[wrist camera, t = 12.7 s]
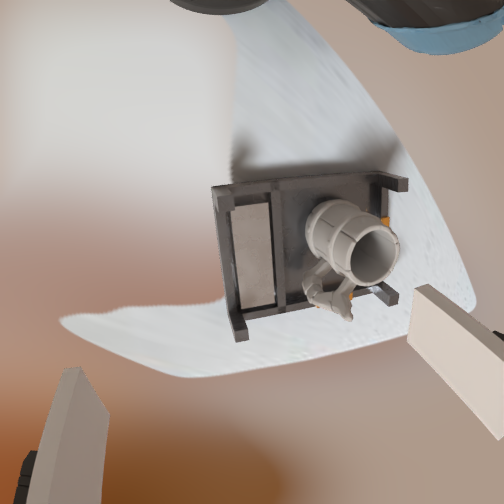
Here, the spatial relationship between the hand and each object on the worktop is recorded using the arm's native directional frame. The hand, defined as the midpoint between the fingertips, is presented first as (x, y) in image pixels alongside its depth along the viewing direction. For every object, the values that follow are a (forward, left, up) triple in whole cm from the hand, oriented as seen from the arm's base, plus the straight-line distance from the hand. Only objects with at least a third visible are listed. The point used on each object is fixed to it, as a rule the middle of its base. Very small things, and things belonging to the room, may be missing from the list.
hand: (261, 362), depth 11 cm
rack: (+6, +11, -26) cm, 28 cm away
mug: (+6, +13, -25) cm, 29 cm away
